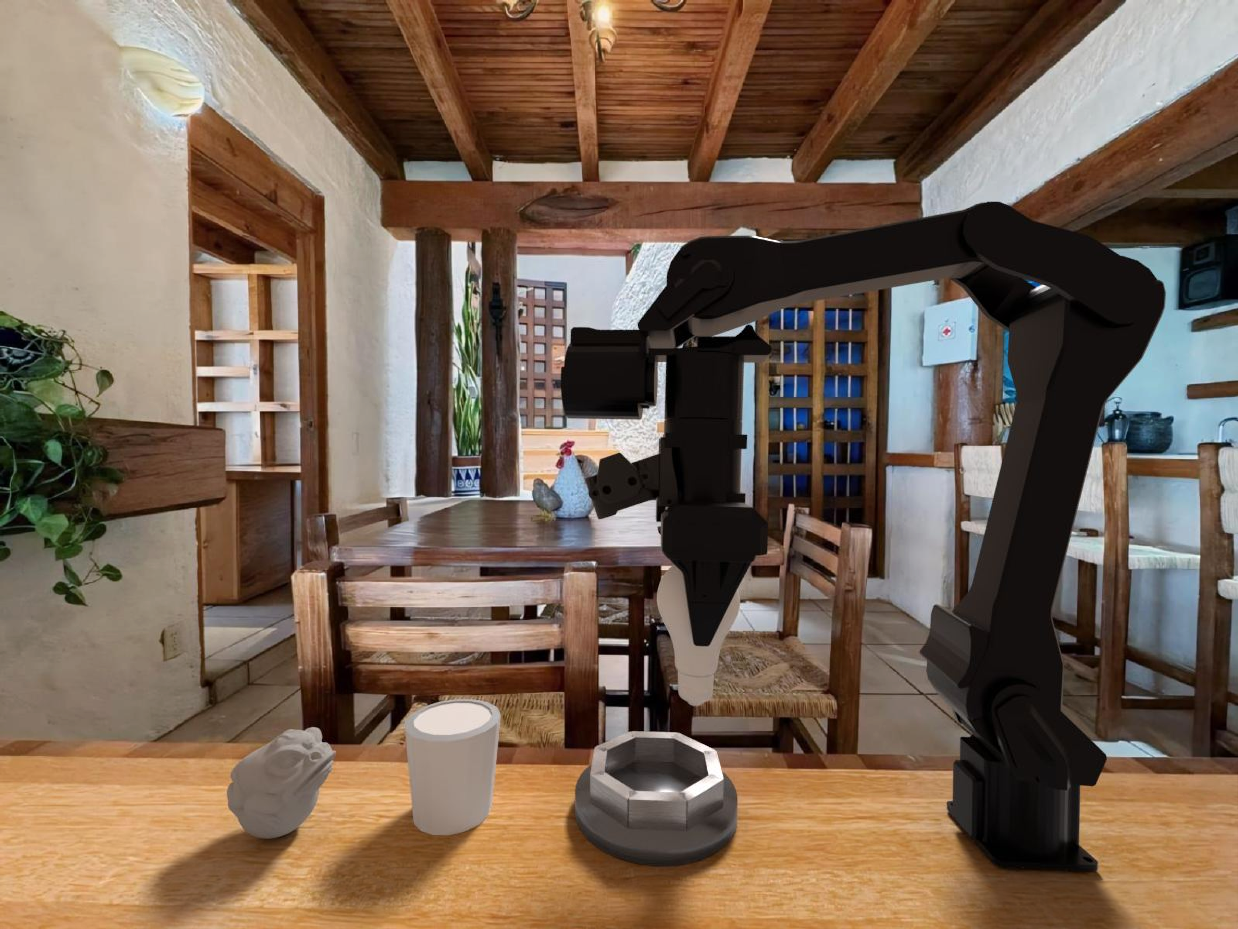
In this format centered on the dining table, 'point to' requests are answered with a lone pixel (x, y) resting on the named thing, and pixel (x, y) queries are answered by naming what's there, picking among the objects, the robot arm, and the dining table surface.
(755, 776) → the dining table surface
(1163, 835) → the dining table surface
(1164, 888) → the dining table surface
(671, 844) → the socket base
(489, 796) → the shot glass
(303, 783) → the frog figurine
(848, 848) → the dining table surface
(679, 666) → the lightbulb
